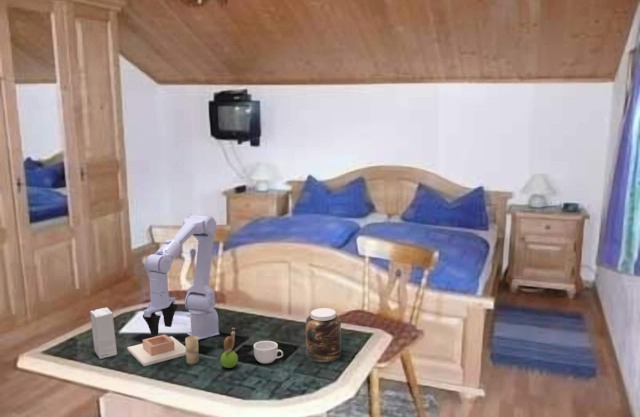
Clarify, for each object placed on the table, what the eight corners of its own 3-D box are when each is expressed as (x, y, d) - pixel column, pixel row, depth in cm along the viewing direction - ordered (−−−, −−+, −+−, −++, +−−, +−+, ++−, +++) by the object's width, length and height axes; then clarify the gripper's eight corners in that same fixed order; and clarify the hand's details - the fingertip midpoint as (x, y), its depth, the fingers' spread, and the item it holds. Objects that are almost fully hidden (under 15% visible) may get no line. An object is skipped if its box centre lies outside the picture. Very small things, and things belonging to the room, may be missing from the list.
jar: (307, 347, 199) (307, 306, 197) (341, 348, 198) (341, 306, 196) (304, 362, 188) (304, 318, 185) (340, 363, 187) (340, 318, 184)
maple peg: (195, 357, 192) (194, 334, 190) (200, 361, 188) (199, 338, 187) (184, 360, 189) (183, 337, 188) (189, 365, 186) (188, 341, 185)
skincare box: (117, 355, 194) (114, 313, 191) (98, 359, 191) (95, 316, 188) (111, 347, 201) (108, 306, 198) (92, 351, 197) (89, 309, 195)
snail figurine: (242, 363, 187) (241, 328, 185) (233, 372, 181) (232, 335, 179) (227, 361, 189) (226, 326, 187) (217, 369, 183) (216, 333, 181)
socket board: (172, 338, 207) (171, 328, 207) (190, 353, 195) (190, 342, 194) (127, 349, 198) (126, 338, 197) (144, 366, 185) (143, 354, 185)
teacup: (249, 363, 187) (249, 348, 186) (260, 354, 194) (259, 339, 193) (278, 368, 183) (277, 352, 182) (287, 358, 191) (287, 343, 190)
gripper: (161, 283, 195) (164, 321, 198) (134, 296, 182) (137, 337, 184) (179, 285, 193) (181, 323, 195) (153, 298, 180) (156, 340, 182)
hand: (161, 330), depth 190 cm, fingers open, 7 cm apart
